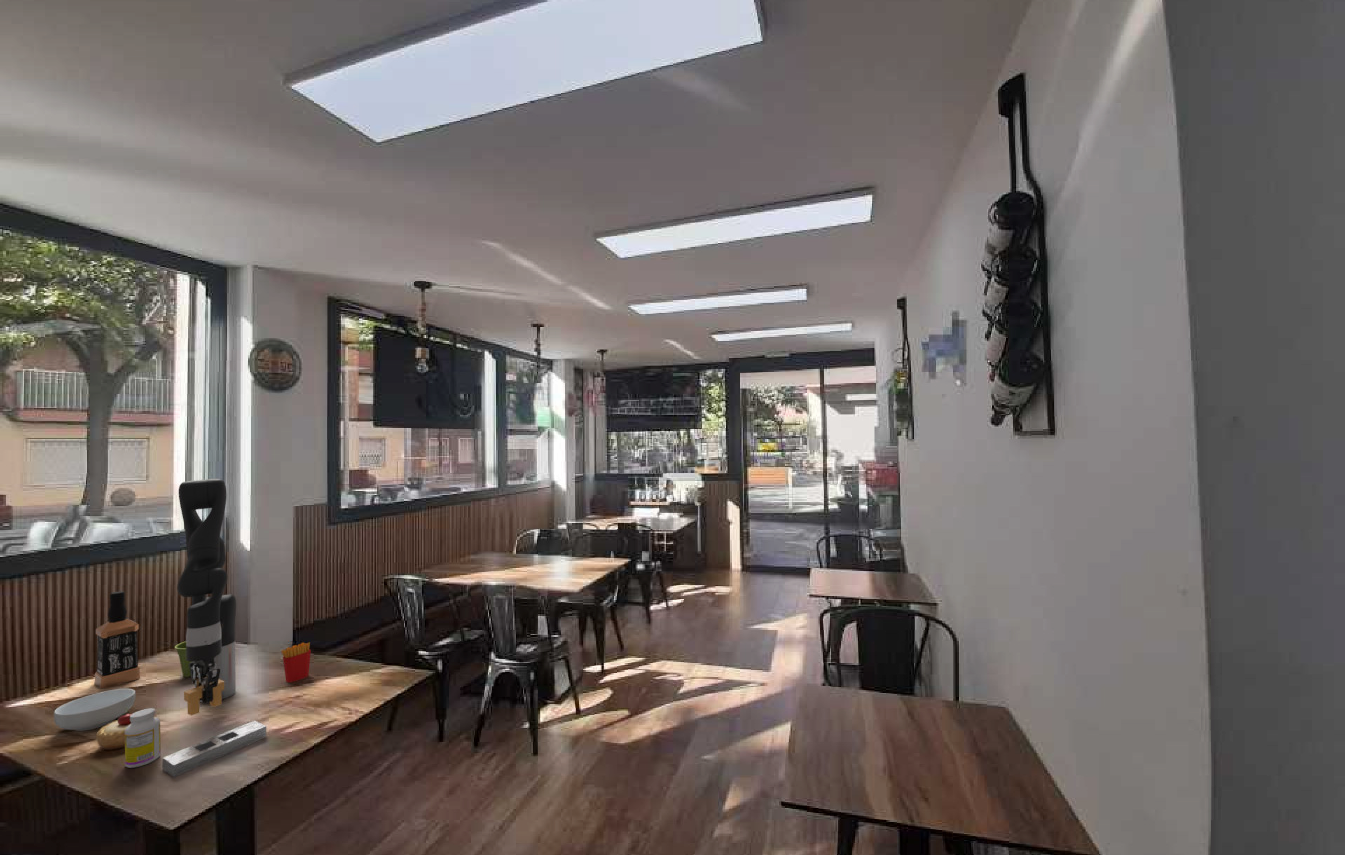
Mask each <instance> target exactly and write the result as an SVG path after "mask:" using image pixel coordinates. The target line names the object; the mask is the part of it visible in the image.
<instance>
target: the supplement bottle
mask: <svg viewBox="0 0 1345 855" xmlns="http://www.w3.org/2000/svg"><path fill="white" fill-rule="evenodd" d="M132 713H133V714H132V715H131V716H130V721H131V724H130V725H129V726H128V727H127V728H126V729H125V747H124V760H125V761H124V762H125V767H126V768H130V769H133V768H139V767H143V766H145V765H147V764H151V763H152V762H154V761H156V760H157V759H159V758H160V755H161V754H162V753H161V751H162V750H161V748H162V746H161V719H160V718H159V717H157V716H156V709H155V708H154V707H153V708H150V707H149V708H145V709H141V710H138V711H136V712H132ZM154 715H155V716H156V717H154Z"/></svg>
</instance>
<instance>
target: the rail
mask: <svg viewBox="0 0 1345 855" xmlns="http://www.w3.org/2000/svg"><path fill="white" fill-rule="evenodd" d="M263 737H265V738H266V737H267V725H264V724H263V723H261V722H259V721H257V720H253V721H250V722H248V723H244V724H243V725H240V726H237V727H235V728H233V729H230V730H227V731H225V732H223V733H221V734H217V735H216V736H213V737H211V738H209V739H205V740H204V741H201V742H198V743H195V744H193V745H191V746H188V747H187V748H186V747H185V748H183V749H181V750H179V751H176V752H174V753H171V754H169V755H166V756H164V757H162V770H163V771H164V772H165V773H167V774H169V775H170V776H172V777H173V778H176V777H178V776H180V775H183V774H184V773H187V772H189V771H192V770H194V769H196V768H198V767H201V766H203V765H205V764H208V763H210V762H212V761H214V760H217V759H218V758H222V757H223V756H226V755H229V754H231V753H233V752H235V751H238V750H240V749H242V748H245V747H246V746H249V745H251V744H253V743H256V742H258V741H260V740H262V738H263ZM263 739H264V738H263ZM248 744H249V745H248Z"/></svg>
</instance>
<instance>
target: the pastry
mask: <svg viewBox="0 0 1345 855" xmlns="http://www.w3.org/2000/svg"><path fill="white" fill-rule="evenodd" d="M125 709H126V708H125ZM126 710H127V709H126ZM127 712H128V713H127ZM127 712H126V713H127V714H126V713H125V714H123V715H121V716H120V717H118V718H117V720H116V719H114V720H113V721H112V722H110V723H108V724H106V725H104V726H101V727H100V729H99V730H98V731H97V732H96V742H97V744H98V746H99V747H101V748H102V749H104V750H109V751H110V750H118V749H123V748H125V729H126V728H127V727H128V726H129V725H130V724H131V721H130V716H131V715H132V714H133V713H134V712H130V711H129V710H127ZM154 717H157V716H156V714H155V715H154Z"/></svg>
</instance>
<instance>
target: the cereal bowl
mask: <svg viewBox="0 0 1345 855" xmlns="http://www.w3.org/2000/svg"><path fill="white" fill-rule="evenodd" d="M135 700H136V690H135V689H133V688H116V689H110V690H106V691H101V692H97V693H93V694H89V695H86V696H83V697H79V698H77V699H74V700H71V701H69V702H66V703H64V704H62V705H60V706H58V707H57V708H56V709H55V710H54V713H53V720H54V723H55V724H56V726H57V727H58V728H60V729H63V730H72V731H73V730H74V731H79V732H85V731H90V730H94V729H95V730H96V729H98V728H102V727H103V726H104V727H105V726H106V725H107V724H108V723H109V724H110V723H112V722H113V721H115V720H116V719H119V717H121V716H123V715H125V714H126V713H127V710H128V711H129V710H130V709H131V708H132V706H133V705H134V704H135ZM125 708H126V709H127V710H126V709H125Z"/></svg>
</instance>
